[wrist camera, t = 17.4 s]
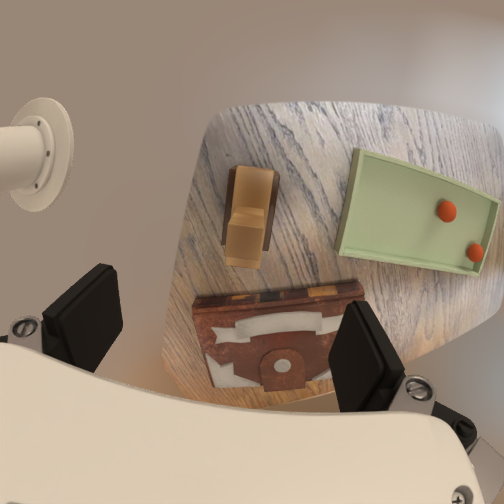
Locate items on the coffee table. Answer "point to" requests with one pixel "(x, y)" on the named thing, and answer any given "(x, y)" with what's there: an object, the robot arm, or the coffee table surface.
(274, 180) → the stand
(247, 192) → the wooden block
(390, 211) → the tray
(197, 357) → the coffee table surface
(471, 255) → the orange-red sphere
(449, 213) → the orange ball
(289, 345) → the book
